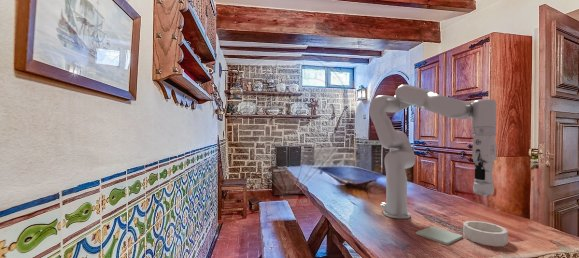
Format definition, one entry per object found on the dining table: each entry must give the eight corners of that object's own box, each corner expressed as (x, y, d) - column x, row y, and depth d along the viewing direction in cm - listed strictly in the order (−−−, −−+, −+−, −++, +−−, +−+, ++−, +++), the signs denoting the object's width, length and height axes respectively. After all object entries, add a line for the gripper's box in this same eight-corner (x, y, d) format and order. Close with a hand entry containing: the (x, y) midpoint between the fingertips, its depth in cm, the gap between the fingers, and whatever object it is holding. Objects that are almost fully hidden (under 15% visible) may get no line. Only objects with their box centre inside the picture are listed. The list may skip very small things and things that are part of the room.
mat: (415, 234, 106) (415, 232, 106) (431, 228, 113) (431, 226, 113) (447, 245, 96) (447, 242, 96) (462, 237, 103) (462, 235, 103)
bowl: (457, 236, 104) (457, 225, 104) (472, 229, 111) (472, 218, 111) (498, 249, 93) (498, 236, 93) (512, 240, 100) (512, 228, 100)
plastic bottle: (468, 193, 105) (469, 142, 105) (484, 192, 106) (485, 142, 106) (481, 197, 99) (482, 143, 99) (498, 197, 99) (499, 143, 99)
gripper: (485, 131, 94) (485, 182, 94) (504, 131, 104) (503, 178, 104) (462, 131, 101) (462, 179, 101) (482, 131, 110) (481, 175, 110)
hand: (483, 178), depth 102 cm, fingers closed on plastic bottle, 5 cm apart
